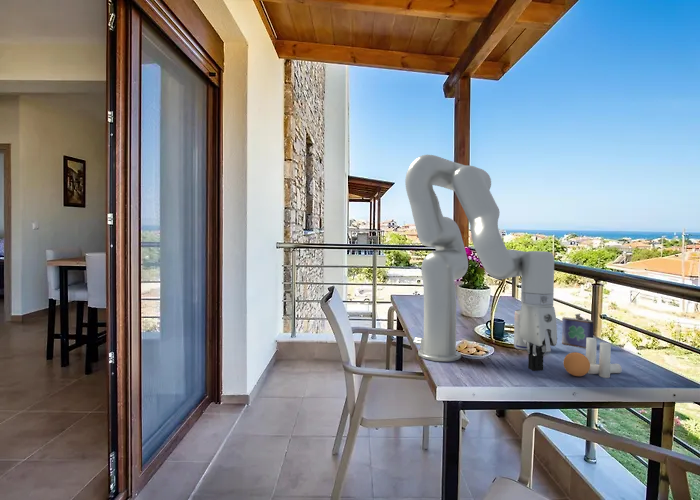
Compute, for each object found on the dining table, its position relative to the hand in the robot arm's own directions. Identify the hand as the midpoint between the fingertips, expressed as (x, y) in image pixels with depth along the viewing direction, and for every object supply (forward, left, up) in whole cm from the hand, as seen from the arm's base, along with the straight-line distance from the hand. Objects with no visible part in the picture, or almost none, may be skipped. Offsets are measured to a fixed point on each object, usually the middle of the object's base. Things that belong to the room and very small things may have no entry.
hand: (535, 369), depth 104 cm
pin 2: (+13, +12, -2) cm, 18 cm away
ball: (+8, +7, +2) cm, 11 cm away
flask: (0, +39, -2) cm, 39 cm away
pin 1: (+9, +15, -2) cm, 18 cm away
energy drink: (-12, +24, -2) cm, 27 cm away
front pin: (+9, +11, 0) cm, 15 cm away
